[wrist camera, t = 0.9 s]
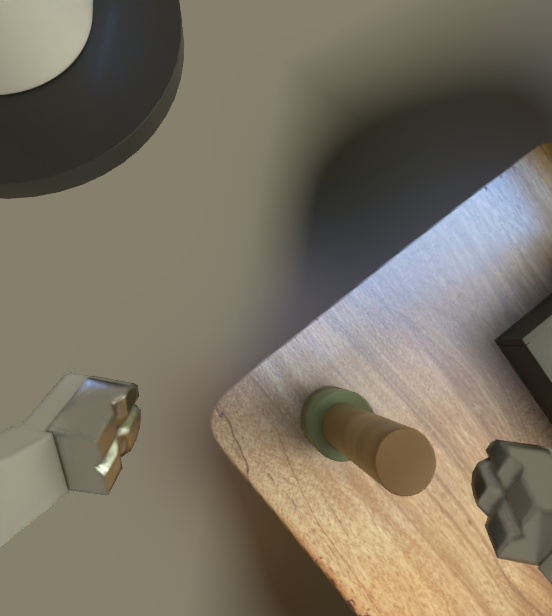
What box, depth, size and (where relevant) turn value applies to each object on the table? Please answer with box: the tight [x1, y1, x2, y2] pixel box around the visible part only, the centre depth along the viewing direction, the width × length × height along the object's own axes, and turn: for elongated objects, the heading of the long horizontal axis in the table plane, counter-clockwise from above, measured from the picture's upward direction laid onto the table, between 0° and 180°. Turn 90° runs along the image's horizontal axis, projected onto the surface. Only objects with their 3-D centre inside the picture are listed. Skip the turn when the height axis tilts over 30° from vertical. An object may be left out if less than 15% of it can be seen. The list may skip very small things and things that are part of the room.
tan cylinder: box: [301, 387, 436, 496], centre depth 24 cm, size 5×5×12 cm
